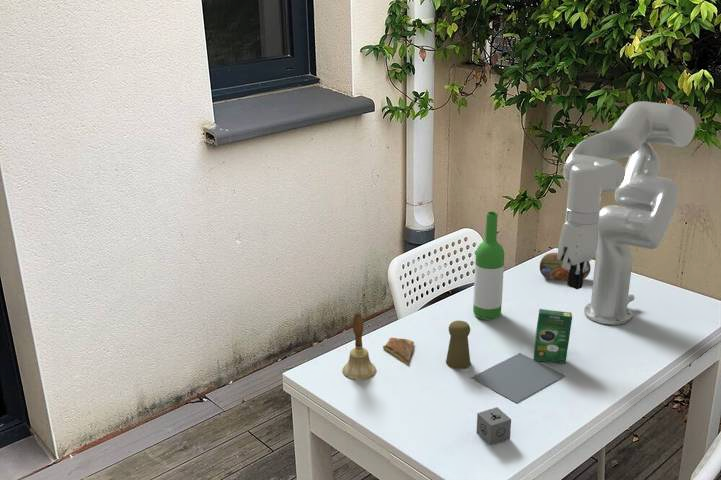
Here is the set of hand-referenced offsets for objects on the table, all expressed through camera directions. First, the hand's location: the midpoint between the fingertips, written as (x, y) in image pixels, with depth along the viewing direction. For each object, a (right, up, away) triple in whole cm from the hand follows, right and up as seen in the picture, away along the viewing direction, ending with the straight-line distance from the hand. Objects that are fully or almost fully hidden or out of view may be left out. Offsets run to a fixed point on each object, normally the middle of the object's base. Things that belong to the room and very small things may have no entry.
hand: (574, 286), depth 187 cm
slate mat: (-15, -21, -5) cm, 26 cm away
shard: (-41, -17, +8) cm, 46 cm away
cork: (-28, -19, +2) cm, 34 cm away
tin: (+10, -1, +48) cm, 49 cm away
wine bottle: (-17, -10, +26) cm, 33 cm away
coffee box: (-6, -18, +2) cm, 19 cm away
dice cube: (-25, -30, -26) cm, 47 cm away
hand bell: (-53, -21, -1) cm, 57 cm away
